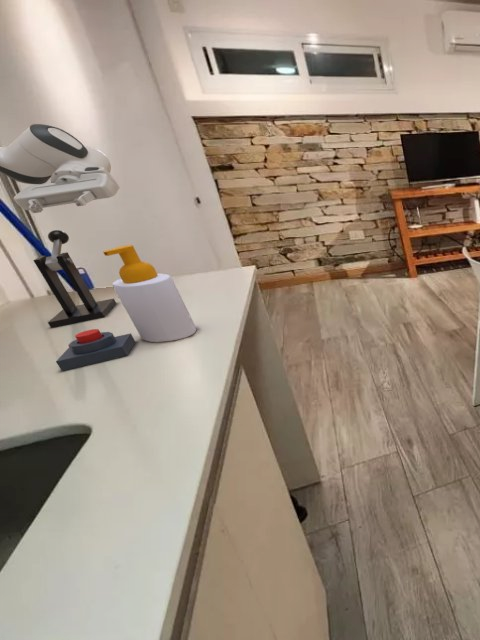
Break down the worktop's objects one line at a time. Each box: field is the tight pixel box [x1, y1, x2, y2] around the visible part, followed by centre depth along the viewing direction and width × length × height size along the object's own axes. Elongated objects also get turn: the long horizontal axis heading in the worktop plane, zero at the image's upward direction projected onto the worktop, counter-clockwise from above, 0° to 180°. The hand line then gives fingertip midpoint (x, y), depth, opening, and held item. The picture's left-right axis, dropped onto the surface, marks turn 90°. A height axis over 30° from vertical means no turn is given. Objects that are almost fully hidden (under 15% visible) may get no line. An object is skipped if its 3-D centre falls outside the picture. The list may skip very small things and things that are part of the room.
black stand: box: [33, 251, 117, 329], centre depth 119 cm, size 12×10×16 cm
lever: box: [45, 229, 70, 272], centre depth 120 cm, size 14×4×4 cm, turn 34°
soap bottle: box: [102, 244, 197, 343], centre depth 103 cm, size 13×8×20 cm, turn 73°
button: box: [74, 328, 103, 344], centre depth 97 cm, size 4×4×2 cm
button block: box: [55, 331, 136, 372], centre depth 98 cm, size 10×8×4 cm
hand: (56, 206), depth 123 cm, fingers open, 8 cm apart
